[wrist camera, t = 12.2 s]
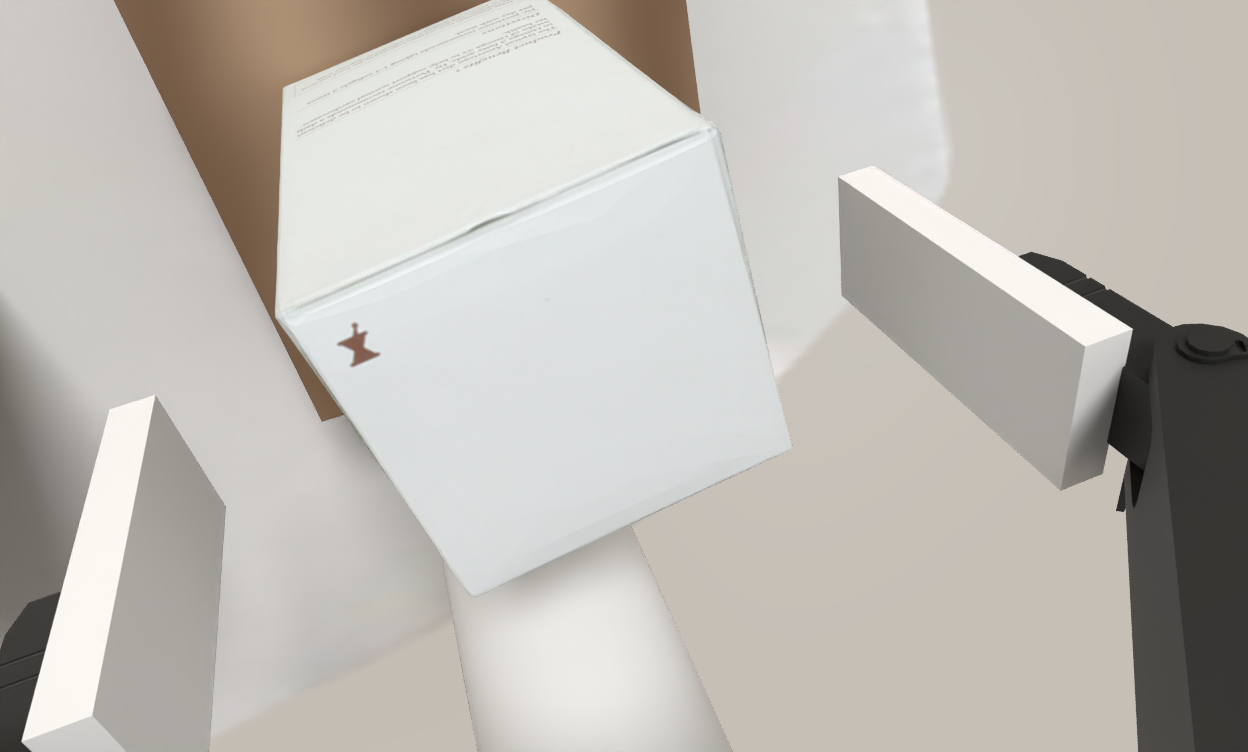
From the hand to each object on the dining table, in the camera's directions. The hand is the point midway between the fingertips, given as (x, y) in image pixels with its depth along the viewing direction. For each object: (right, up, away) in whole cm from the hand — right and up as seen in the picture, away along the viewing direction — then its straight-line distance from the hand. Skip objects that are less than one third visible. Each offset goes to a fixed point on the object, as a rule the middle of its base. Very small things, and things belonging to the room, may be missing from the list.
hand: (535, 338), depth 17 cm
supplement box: (-3, +6, +9) cm, 11 cm away
